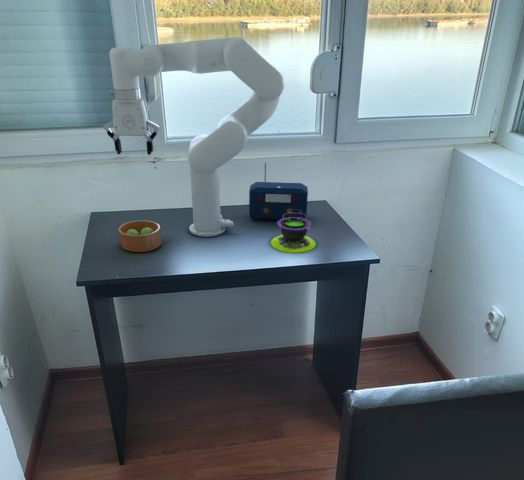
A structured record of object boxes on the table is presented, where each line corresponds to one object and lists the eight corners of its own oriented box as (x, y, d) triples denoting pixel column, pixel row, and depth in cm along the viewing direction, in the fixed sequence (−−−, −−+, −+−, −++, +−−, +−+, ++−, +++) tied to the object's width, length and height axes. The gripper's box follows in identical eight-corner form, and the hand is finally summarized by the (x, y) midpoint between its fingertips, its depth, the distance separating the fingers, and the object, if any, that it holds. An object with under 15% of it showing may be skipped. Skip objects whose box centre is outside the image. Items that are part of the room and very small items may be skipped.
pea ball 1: (123, 228, 171) (121, 242, 170) (130, 226, 167) (128, 239, 167) (136, 233, 174) (134, 246, 173) (142, 230, 170) (141, 243, 170)
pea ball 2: (147, 246, 173) (158, 237, 174) (145, 240, 169) (155, 231, 170) (138, 237, 174) (149, 228, 175) (135, 231, 170) (146, 222, 170)
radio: (249, 221, 191) (248, 166, 179) (250, 213, 198) (250, 159, 186) (305, 223, 190) (309, 167, 178) (305, 214, 197) (309, 160, 186)
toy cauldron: (324, 243, 175) (327, 211, 169) (296, 256, 166) (297, 224, 160) (290, 231, 184) (292, 200, 177) (261, 243, 175) (262, 211, 168)
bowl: (164, 237, 177) (163, 220, 174) (157, 253, 166) (156, 236, 163) (126, 236, 177) (123, 219, 174) (116, 253, 166) (114, 235, 163)
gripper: (95, 96, 154) (104, 156, 163) (153, 97, 154) (159, 157, 163) (102, 92, 160) (110, 149, 169) (158, 93, 160) (163, 151, 169)
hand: (134, 153), depth 166 cm, fingers open, 9 cm apart
